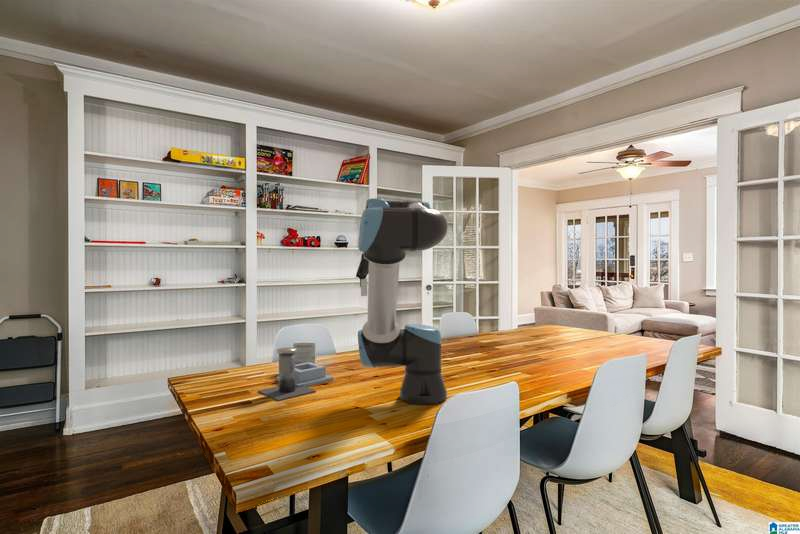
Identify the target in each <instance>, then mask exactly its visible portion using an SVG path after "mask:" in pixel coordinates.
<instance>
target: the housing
mask: <svg viewBox="0 0 800 534" xmlns="http://www.w3.org/2000/svg"><path fill="white" fill-rule="evenodd" d="M326 370H327V368H326V366H324V365H320V364H317V363H316V364H315V363H311V362H307V363H302V364H296V365H295V387H302V386H305V387H310V386H314V385H315V386H316V385H319V384H323V383H328V382H331V381H334V376H331V375H328V374H327V371H326ZM275 378H276V381H277V382H279V376H276V377H275Z"/></svg>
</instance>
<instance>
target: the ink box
mask: <svg viewBox="0 0 800 534" xmlns="http://www.w3.org/2000/svg"><path fill="white" fill-rule="evenodd" d="M293 348H297V352H295V365H296V364H302V363H307V362H311V363H315V364H317V341H316V340H311V341H309V340H308V341H306V340H305V341H304V340H303V341H301V340H300V341H295V342H293Z"/></svg>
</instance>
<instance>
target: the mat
mask: <svg viewBox="0 0 800 534" xmlns="http://www.w3.org/2000/svg"><path fill="white" fill-rule="evenodd" d="M316 392H317V390H316V389H312V388H310V387H309V386H307V387H305V386H302V387H295V391H293V392H288V393H282V392H279V385H277V386H272V387H268V388H267V387H266V388H263V389H259V390H257V393H259V394H262V395H264V396H266V397H269V398H270V399H273V400H275V401H277V402H280V401H284V400H288V399H293V398H296V397H300V396H305V395H308V394H312V393H316Z"/></svg>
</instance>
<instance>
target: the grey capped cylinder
mask: <svg viewBox="0 0 800 534" xmlns="http://www.w3.org/2000/svg"><path fill="white" fill-rule="evenodd" d="M295 352H297V348H293V347H291V346H290V347H289V346H288V347H279V348H277V350H276V353H277V354H278V377H279V381H278V386H279V392H282V393H288V392H293V391H295Z"/></svg>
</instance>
